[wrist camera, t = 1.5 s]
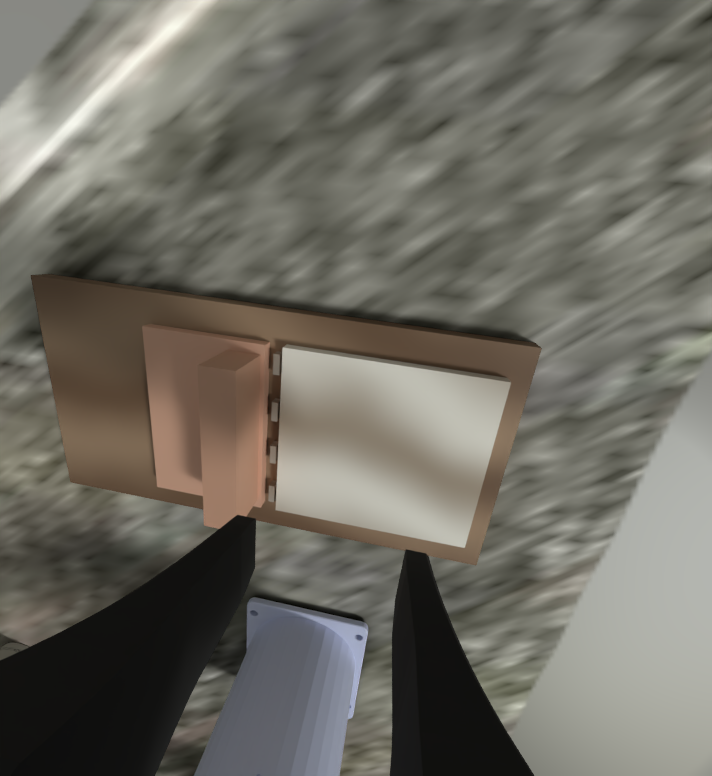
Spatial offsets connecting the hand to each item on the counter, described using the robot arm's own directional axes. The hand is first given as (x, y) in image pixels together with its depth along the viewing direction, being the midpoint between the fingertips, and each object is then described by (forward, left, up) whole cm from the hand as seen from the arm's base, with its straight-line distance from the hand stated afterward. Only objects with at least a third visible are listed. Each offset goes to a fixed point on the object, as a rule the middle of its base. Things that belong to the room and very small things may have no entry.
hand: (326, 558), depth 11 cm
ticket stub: (0, +8, -7) cm, 11 cm away
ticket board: (0, +5, -8) cm, 10 cm away
